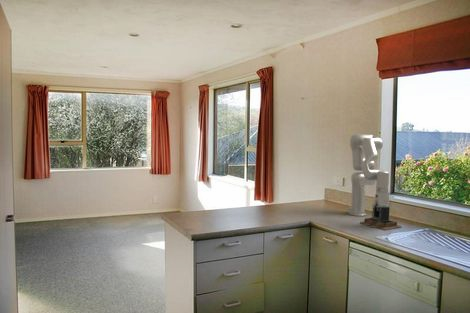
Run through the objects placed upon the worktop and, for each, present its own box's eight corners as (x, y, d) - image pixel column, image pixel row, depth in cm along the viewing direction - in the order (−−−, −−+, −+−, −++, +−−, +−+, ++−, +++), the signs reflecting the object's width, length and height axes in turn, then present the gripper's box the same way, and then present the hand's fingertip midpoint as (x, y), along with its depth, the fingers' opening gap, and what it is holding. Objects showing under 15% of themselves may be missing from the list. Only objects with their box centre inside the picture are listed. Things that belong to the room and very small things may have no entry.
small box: (389, 223, 248) (390, 207, 247) (380, 223, 246) (381, 207, 246) (380, 219, 258) (380, 204, 257) (371, 219, 257) (372, 204, 256)
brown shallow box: (360, 223, 257) (360, 218, 256) (376, 221, 265) (376, 216, 265) (385, 230, 239) (385, 224, 239) (401, 227, 248) (401, 222, 247)
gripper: (377, 191, 243) (376, 218, 244) (395, 190, 252) (394, 216, 253) (368, 189, 250) (367, 216, 251) (386, 188, 258) (384, 213, 260)
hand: (380, 216), depth 252 cm, fingers closed on small box, 7 cm apart
